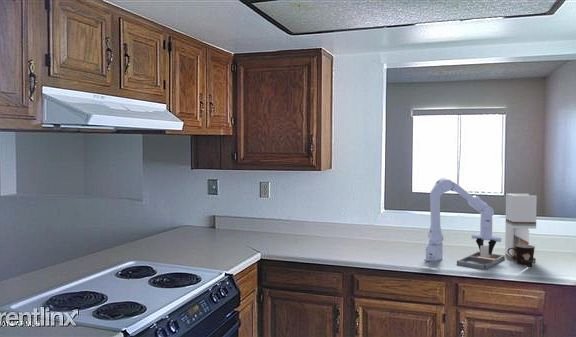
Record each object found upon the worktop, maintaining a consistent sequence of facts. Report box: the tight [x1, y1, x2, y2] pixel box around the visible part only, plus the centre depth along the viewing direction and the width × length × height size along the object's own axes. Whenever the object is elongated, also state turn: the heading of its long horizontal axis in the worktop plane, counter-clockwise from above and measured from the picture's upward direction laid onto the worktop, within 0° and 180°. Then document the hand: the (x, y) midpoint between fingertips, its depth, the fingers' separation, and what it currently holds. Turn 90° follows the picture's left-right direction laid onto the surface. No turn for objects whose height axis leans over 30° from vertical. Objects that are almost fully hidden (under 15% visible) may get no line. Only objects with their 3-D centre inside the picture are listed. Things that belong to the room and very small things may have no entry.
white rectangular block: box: [479, 243, 491, 258], centre depth 228 cm, size 4×4×6 cm
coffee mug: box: [507, 244, 536, 268], centre depth 221 cm, size 12×9×10 cm
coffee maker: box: [504, 193, 538, 263], centre depth 232 cm, size 11×11×35 cm
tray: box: [456, 251, 506, 271], centre depth 224 cm, size 28×14×3 cm, turn 136°
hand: (486, 253), depth 229 cm, fingers closed on white rectangular block, 4 cm apart
